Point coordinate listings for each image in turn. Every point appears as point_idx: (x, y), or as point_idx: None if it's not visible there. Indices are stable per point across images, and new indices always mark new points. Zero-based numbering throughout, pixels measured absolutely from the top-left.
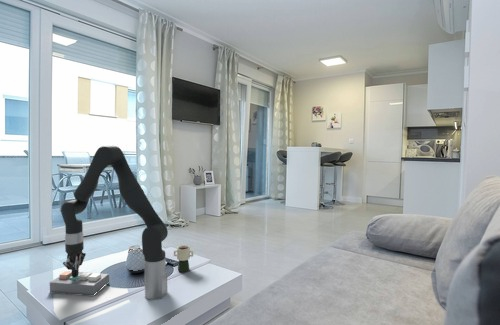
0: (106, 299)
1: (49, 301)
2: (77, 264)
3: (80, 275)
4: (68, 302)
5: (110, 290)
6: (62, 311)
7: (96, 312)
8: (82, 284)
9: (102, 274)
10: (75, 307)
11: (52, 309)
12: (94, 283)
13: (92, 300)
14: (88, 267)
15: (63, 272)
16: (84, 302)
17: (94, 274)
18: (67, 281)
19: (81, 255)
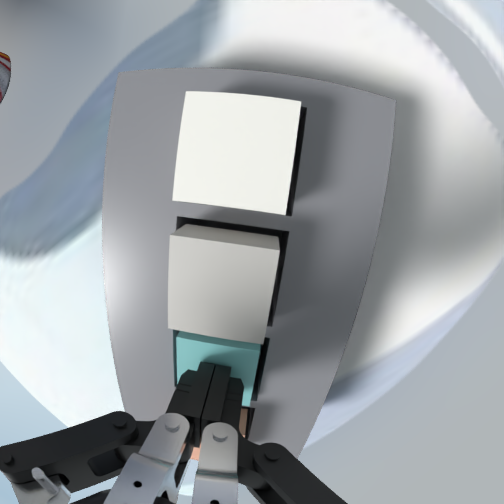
0: (392, 27)
1: (392, 365)
2: (177, 460)
3: (248, 332)
4: (428, 256)
5: (270, 34)
6: (496, 236)
7: (496, 61)
8: (375, 227)
9: (127, 130)
10: (477, 183)
11: (471, 299)
12: (353, 104)
13: (414, 106)
14: (22, 345)
15: (196, 459)
16: (436, 150)
17: (212, 163)
18: (292, 390)
19: (49, 492)
